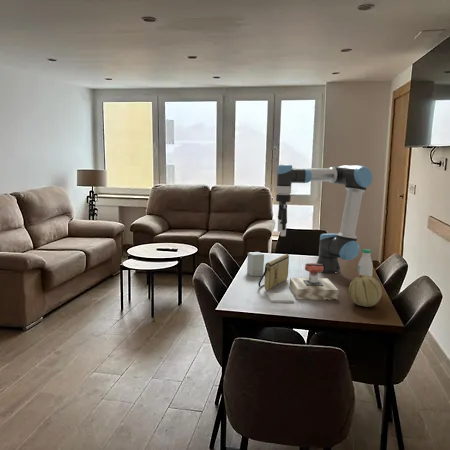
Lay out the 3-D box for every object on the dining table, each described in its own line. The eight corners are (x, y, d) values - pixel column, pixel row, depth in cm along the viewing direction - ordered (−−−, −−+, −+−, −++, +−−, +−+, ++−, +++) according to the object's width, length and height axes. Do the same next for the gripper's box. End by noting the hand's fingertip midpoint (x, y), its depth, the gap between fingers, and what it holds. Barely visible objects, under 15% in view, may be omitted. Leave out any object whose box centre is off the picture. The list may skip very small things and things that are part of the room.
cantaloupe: (387, 310, 197) (390, 278, 195) (359, 312, 193) (362, 280, 191) (367, 299, 211) (370, 270, 209) (341, 301, 207) (343, 271, 205)
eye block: (326, 287, 230) (327, 277, 229) (337, 299, 210) (338, 288, 209) (289, 286, 229) (290, 276, 228) (296, 298, 209) (297, 287, 208)
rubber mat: (289, 295, 214) (289, 293, 214) (294, 302, 204) (294, 300, 203) (267, 294, 214) (267, 292, 214) (270, 302, 203) (270, 300, 203)
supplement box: (263, 275, 249) (264, 254, 247) (252, 276, 246) (252, 255, 244) (258, 272, 256) (258, 251, 254) (246, 273, 253) (247, 252, 251)
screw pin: (319, 290, 224) (321, 262, 222) (323, 296, 215) (325, 266, 213) (301, 290, 224) (303, 261, 221) (305, 295, 215) (307, 266, 212)
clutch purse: (277, 277, 247) (278, 251, 244) (288, 279, 243) (290, 253, 241) (254, 290, 221) (256, 261, 219) (267, 292, 218) (268, 263, 215)
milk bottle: (373, 285, 237) (376, 249, 234) (367, 288, 231) (370, 251, 228) (360, 282, 242) (363, 247, 239) (353, 285, 236) (356, 249, 233)
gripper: (274, 192, 240) (272, 229, 243) (279, 195, 215) (276, 237, 219) (287, 192, 240) (285, 230, 243) (294, 196, 215) (291, 238, 218)
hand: (281, 233), depth 231 cm, fingers open, 13 cm apart
